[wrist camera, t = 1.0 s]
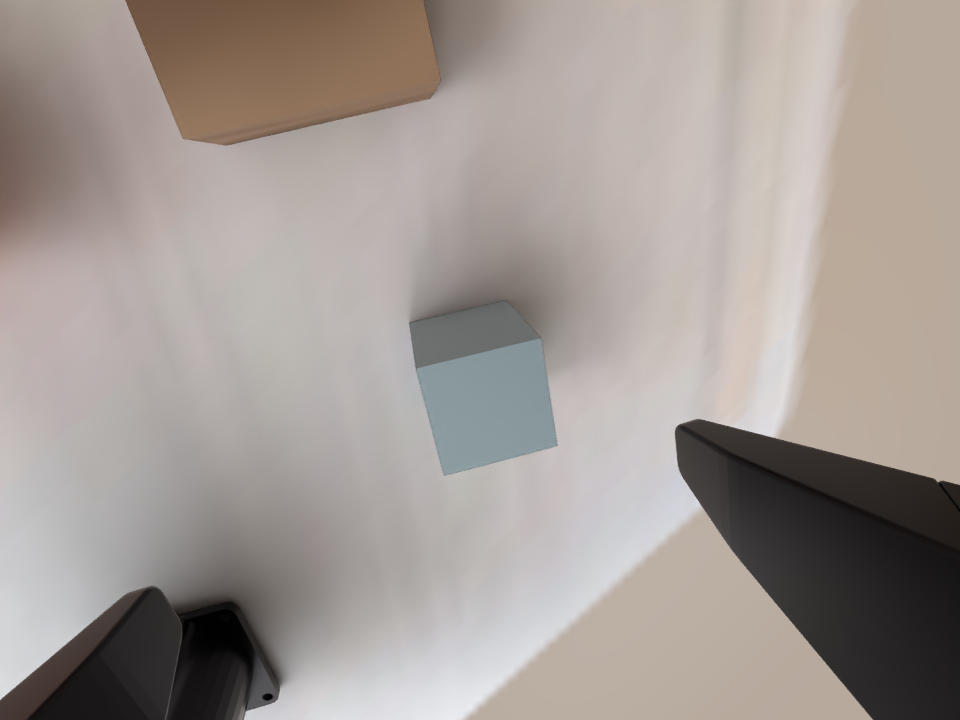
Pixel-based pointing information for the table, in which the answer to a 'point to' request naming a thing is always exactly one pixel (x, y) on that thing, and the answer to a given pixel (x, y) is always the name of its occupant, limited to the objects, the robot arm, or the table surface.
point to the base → (284, 61)
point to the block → (483, 386)
